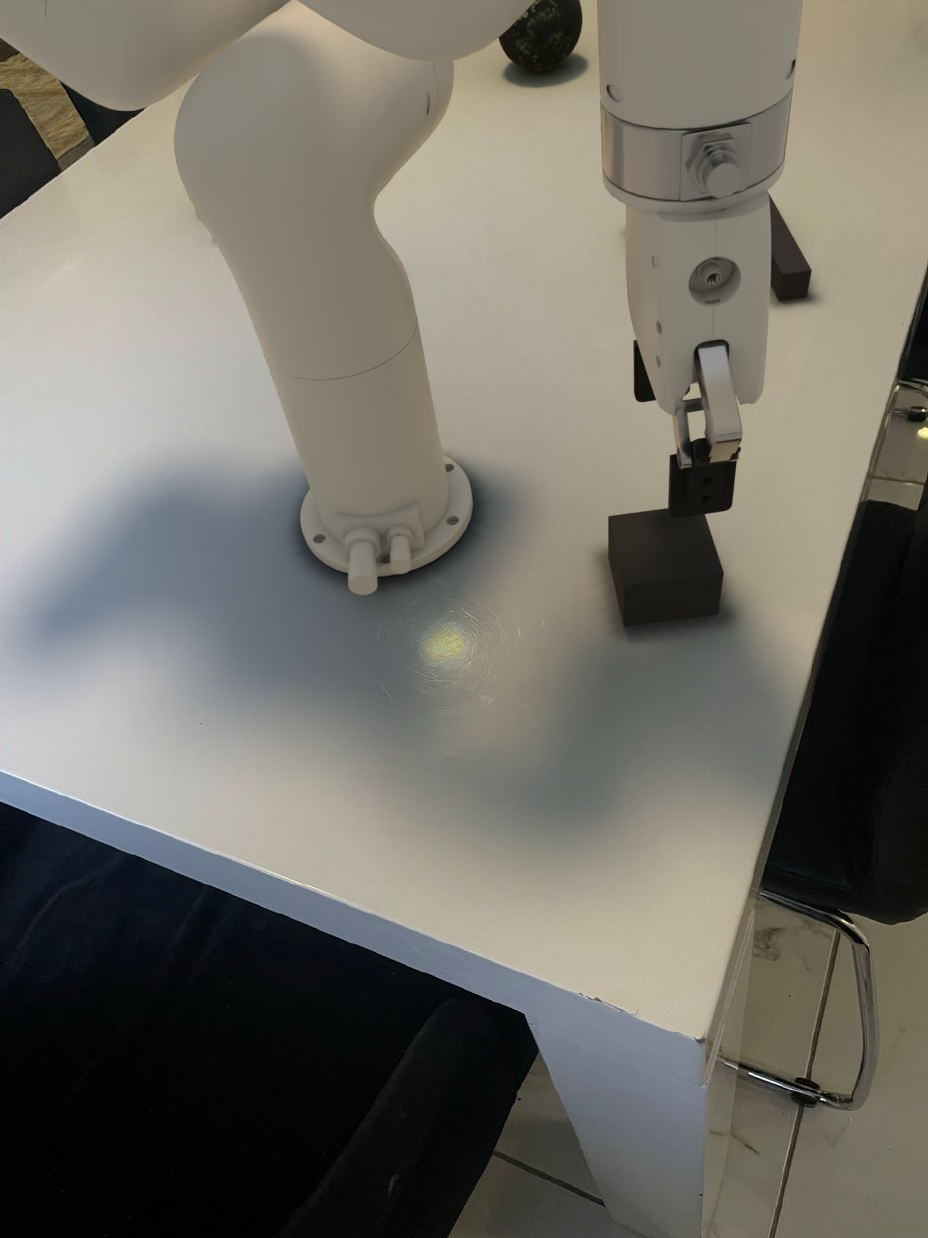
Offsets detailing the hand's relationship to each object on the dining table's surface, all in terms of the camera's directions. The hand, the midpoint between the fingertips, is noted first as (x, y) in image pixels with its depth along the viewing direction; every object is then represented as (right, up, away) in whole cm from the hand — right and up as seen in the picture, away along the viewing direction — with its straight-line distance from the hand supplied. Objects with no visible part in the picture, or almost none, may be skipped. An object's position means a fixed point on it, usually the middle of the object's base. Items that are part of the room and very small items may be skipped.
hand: (679, 450), depth 52 cm
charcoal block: (+1, -7, +9) cm, 12 cm away
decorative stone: (-3, +57, +61) cm, 84 cm away
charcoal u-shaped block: (+10, +22, +31) cm, 40 cm away
